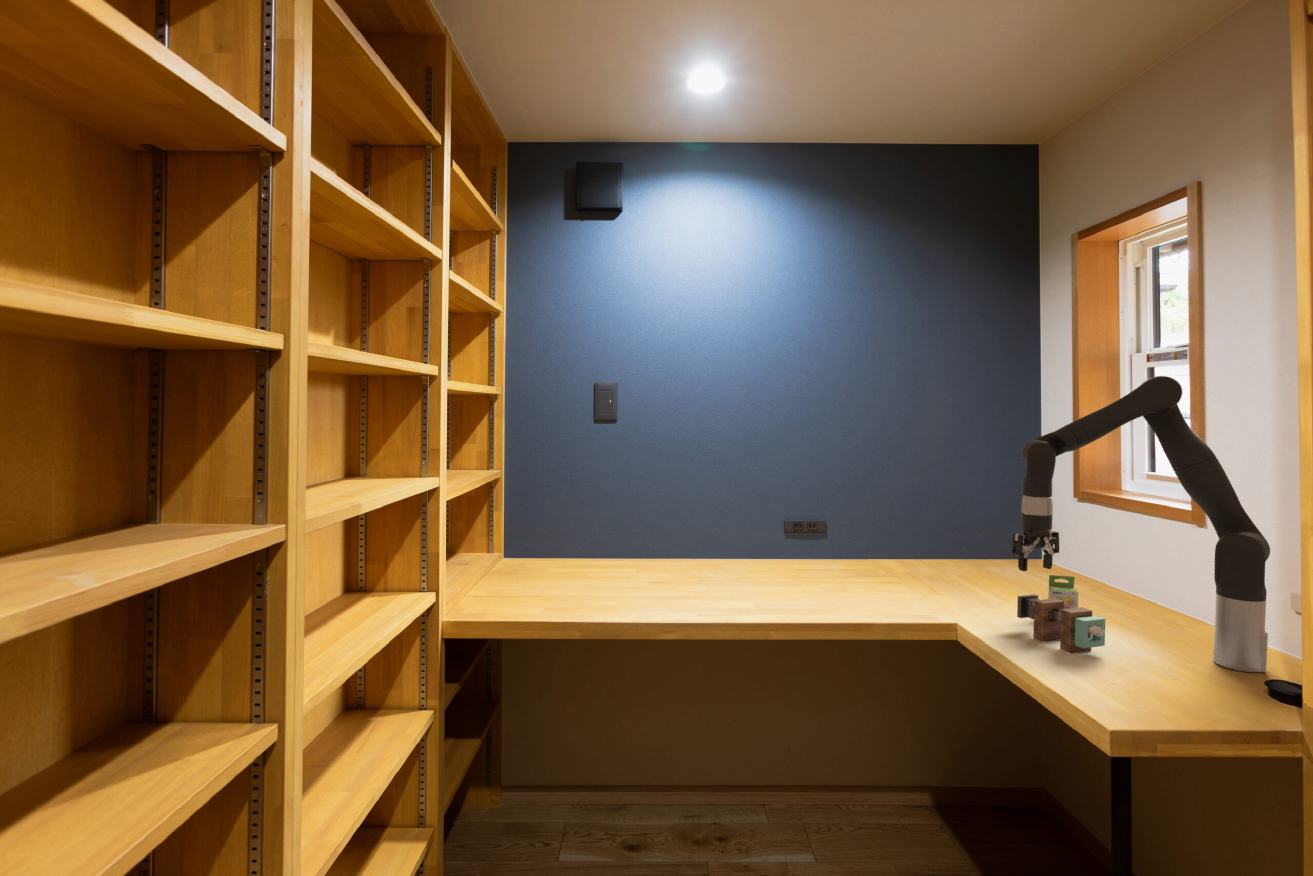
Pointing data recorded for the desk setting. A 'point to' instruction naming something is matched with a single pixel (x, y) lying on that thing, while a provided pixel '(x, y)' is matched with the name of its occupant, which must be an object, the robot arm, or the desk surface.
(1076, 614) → the bearing blocks
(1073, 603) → the ink box
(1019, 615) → the shaft
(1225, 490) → the robot arm
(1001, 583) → the desk surface
